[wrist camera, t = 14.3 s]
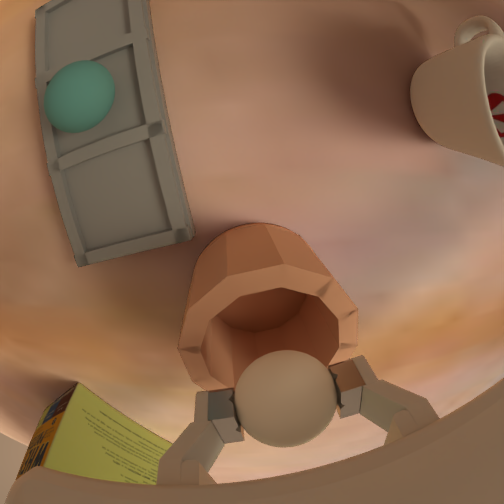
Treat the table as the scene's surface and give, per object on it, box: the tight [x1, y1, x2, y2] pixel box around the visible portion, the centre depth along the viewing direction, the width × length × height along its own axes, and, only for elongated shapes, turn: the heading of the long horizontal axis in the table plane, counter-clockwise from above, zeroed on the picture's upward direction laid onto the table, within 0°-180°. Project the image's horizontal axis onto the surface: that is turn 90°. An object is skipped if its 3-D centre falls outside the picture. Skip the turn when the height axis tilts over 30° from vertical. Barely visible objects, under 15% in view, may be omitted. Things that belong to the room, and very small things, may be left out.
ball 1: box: [44, 60, 115, 133], centre depth 11 cm, size 4×4×4 cm
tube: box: [178, 223, 358, 391], centre depth 16 cm, size 9×9×7 cm
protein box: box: [16, 383, 172, 485], centre depth 17 cm, size 10×15×16 cm
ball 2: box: [234, 350, 337, 447], centre depth 10 cm, size 4×4×4 cm
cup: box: [410, 15, 504, 167], centre depth 11 cm, size 11×8×8 cm
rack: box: [35, 0, 195, 267], centre depth 13 cm, size 19×8×2 cm, turn 11°
